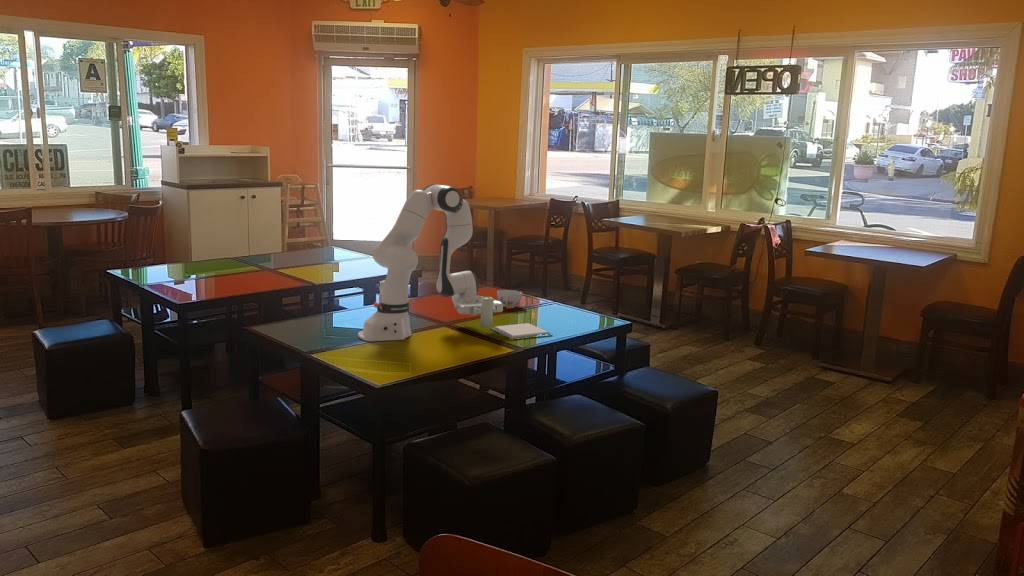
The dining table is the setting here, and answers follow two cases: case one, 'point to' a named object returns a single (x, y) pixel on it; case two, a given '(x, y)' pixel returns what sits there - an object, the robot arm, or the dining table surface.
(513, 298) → the teacup
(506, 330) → the tile
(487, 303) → the grey upright block
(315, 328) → the dining table surface
